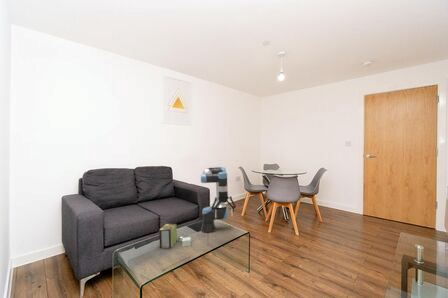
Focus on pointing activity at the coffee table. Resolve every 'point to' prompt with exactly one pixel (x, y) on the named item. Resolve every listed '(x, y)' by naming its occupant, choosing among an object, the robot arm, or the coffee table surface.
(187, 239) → the sage block
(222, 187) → the robot arm
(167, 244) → the protein box
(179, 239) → the metal tin
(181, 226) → the coffee table surface
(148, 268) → the coffee table surface
